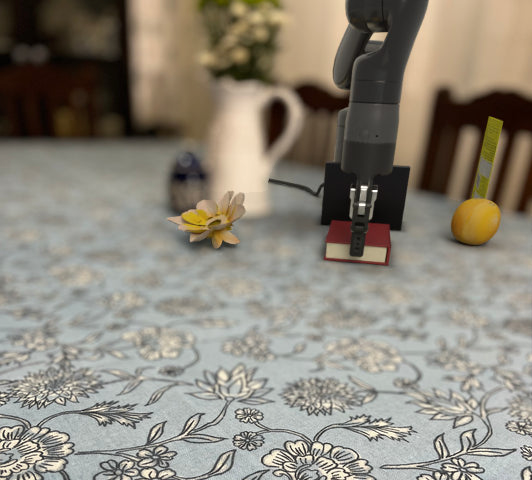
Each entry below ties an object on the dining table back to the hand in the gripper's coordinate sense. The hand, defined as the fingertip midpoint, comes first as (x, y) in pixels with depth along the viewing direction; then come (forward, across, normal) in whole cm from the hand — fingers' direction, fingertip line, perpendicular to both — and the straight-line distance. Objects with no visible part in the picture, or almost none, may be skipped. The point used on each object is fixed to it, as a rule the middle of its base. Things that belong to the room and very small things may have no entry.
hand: (356, 255), depth 82 cm
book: (+2, +9, 0) cm, 9 cm away
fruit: (+1, +19, -21) cm, 28 cm away
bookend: (+1, +28, 0) cm, 28 cm away
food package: (+1, +40, -24) cm, 47 cm away
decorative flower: (+2, +7, +27) cm, 28 cm away
